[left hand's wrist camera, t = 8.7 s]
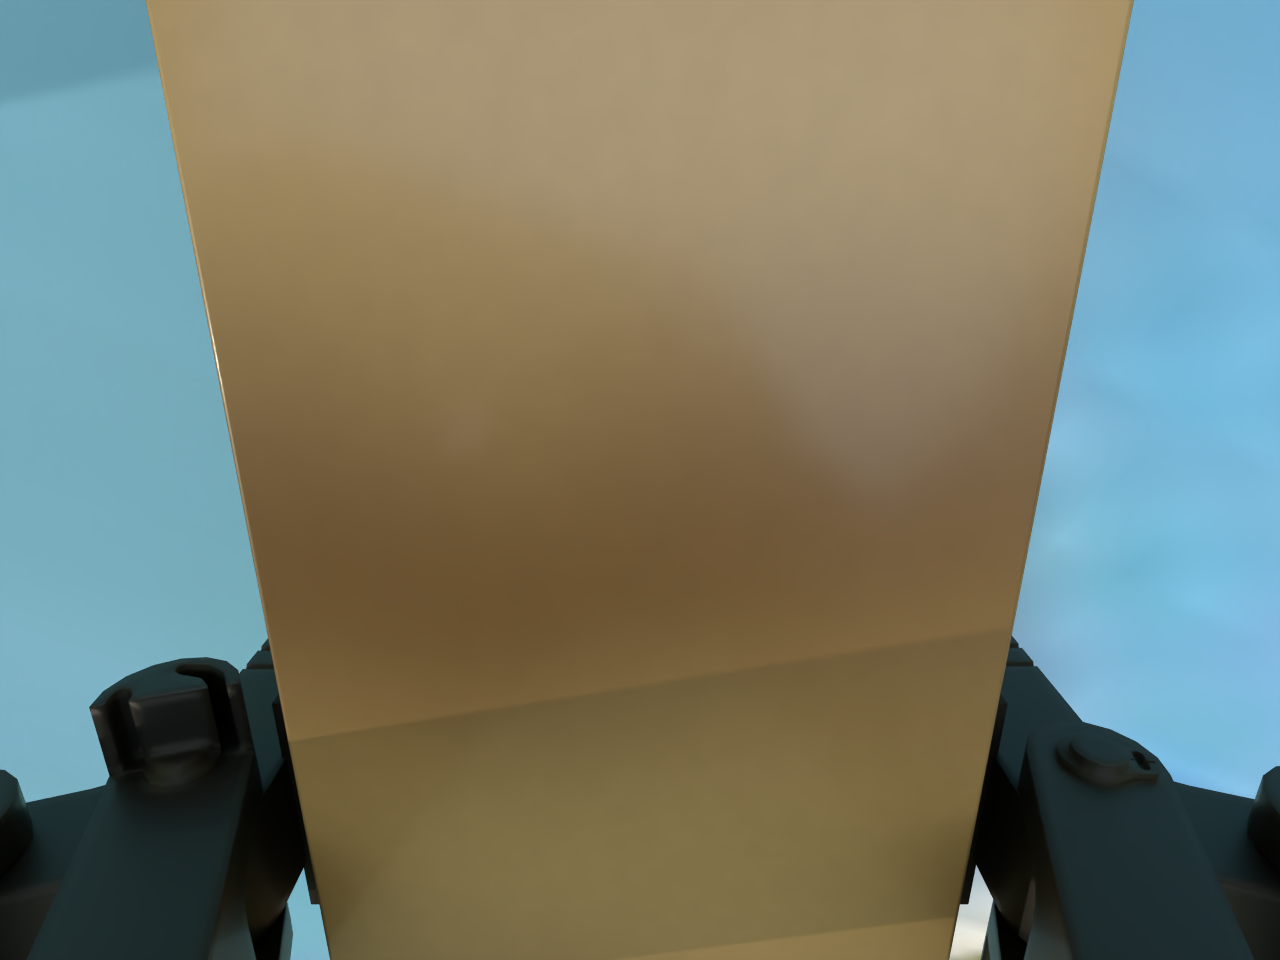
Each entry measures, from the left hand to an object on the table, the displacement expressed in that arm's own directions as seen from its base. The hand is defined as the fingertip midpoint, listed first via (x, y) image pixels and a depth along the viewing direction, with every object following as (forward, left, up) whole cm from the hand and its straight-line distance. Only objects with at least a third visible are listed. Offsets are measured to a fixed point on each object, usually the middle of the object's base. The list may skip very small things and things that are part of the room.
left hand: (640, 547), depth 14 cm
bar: (+10, +3, 0) cm, 10 cm away
